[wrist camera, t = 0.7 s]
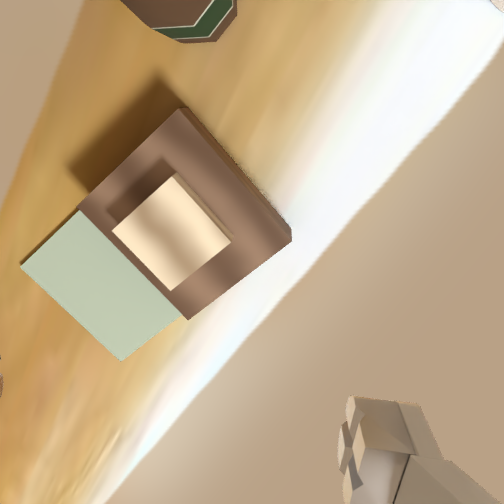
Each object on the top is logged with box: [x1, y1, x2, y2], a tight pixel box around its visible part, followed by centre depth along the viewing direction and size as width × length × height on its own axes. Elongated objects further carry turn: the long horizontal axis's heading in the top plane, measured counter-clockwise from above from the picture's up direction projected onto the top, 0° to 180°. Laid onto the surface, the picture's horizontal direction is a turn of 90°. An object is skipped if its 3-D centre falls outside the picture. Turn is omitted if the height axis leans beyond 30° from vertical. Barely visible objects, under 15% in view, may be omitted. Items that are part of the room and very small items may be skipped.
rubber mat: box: [20, 210, 182, 361], centre depth 49 cm, size 12×16×1 cm
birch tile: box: [112, 173, 234, 291], centre depth 41 cm, size 8×8×2 cm
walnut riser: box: [76, 107, 292, 320], centre depth 43 cm, size 14×16×4 cm
